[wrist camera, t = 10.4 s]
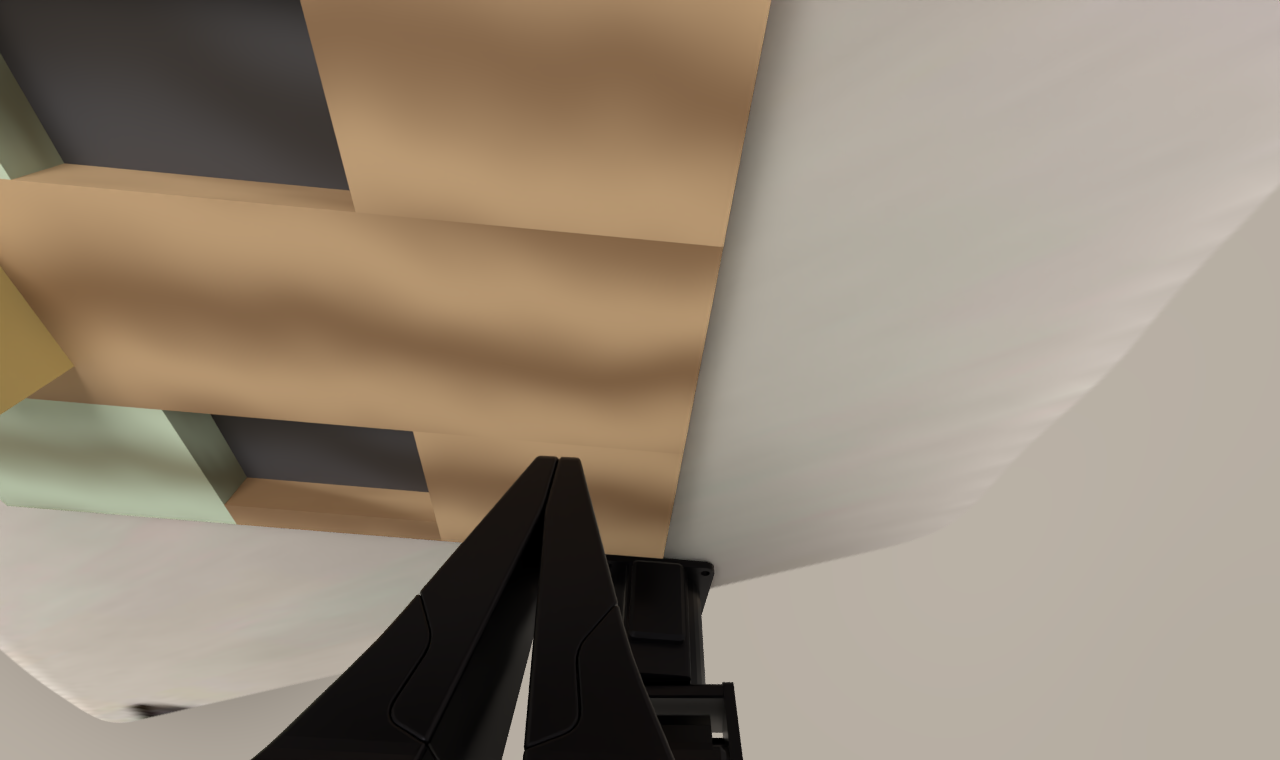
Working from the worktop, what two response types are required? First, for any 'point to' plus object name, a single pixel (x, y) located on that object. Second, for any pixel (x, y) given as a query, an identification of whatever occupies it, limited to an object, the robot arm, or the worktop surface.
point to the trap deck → (366, 252)
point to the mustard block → (24, 349)
